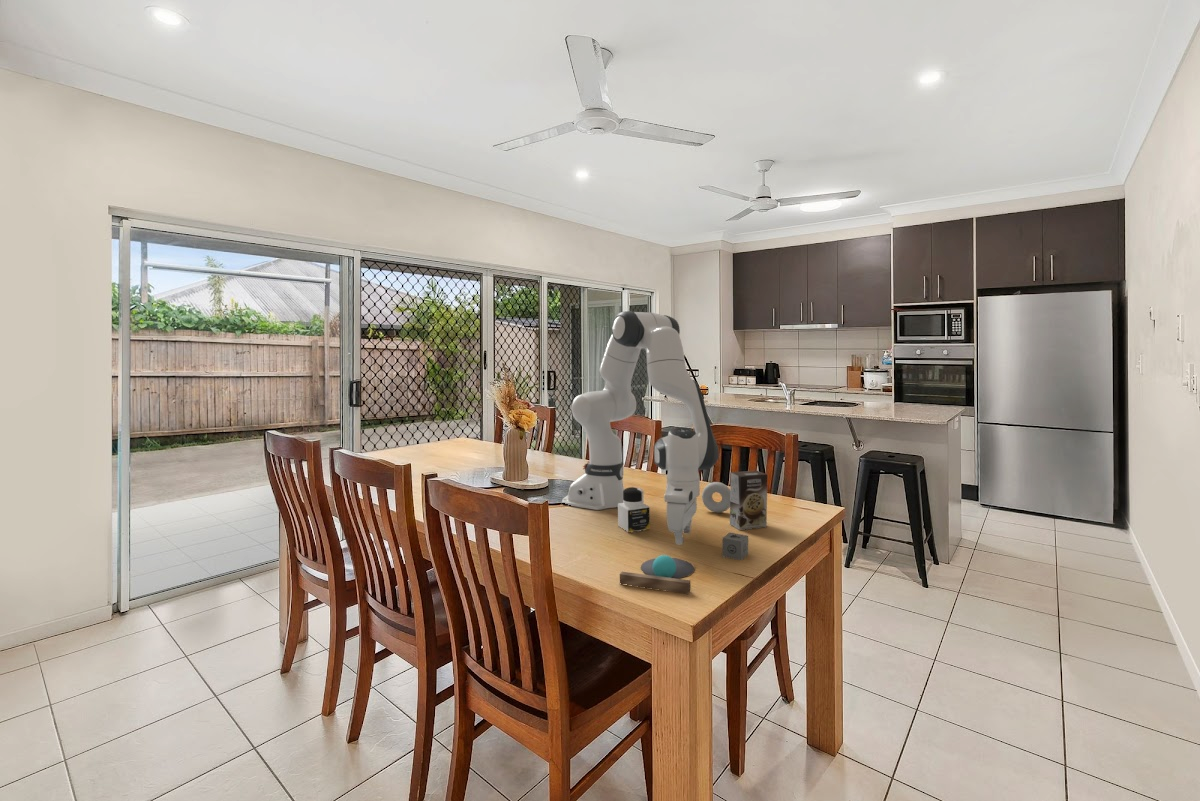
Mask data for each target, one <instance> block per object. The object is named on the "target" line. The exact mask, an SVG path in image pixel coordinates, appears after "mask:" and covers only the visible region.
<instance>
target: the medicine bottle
mask: <svg viewBox="0 0 1200 801" xmlns="http://www.w3.org/2000/svg"><path fill="white" fill-rule="evenodd" d="M623 502H624V503H619V504H618V507H617V525H618V527H619V526H620V527H621V528H620V527H619V528H620V529H622V528H623V529H624V531H625V530H626V531H625V532H626V533H628V532H631V533H634V532H633V531H637V532H641V531H640V530H643V531H647V530H646V529H649V530H650V506H649V505H647V504H646V503H644V490H643V488H640V487H636V486H634V487H633V486H632V487H626V488H624V490H623ZM623 529H622V530H623Z"/></svg>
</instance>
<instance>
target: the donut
mask: <svg viewBox="0 0 1200 801" xmlns="http://www.w3.org/2000/svg"><path fill="white" fill-rule="evenodd" d="M715 493H718V494H720V496H721V500H720V501H715V499H713V495H714V494H715ZM701 500H702V503H703V506H704V507H705V508H706V509H708V510H709V511H710V512H713V513H716V514H719V513H724V512H726V511H727V510H730V488H729V487H728V485H727V484H724V483H723V482H719V481H713V482H710V483H708V484H706V485H705V486H704V488H703V490H702V491H701Z"/></svg>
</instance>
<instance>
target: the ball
mask: <svg viewBox="0 0 1200 801" xmlns="http://www.w3.org/2000/svg"><path fill="white" fill-rule="evenodd" d="M655 558H656V559H655ZM655 558H654V559H655V560H654V562H653V572H654V574H655V575H656V576H660V577H668V578H671V577H672V576H673V575H674V574H675V572H676V563H675V561H674V560H673V559H672V558H673V557H671V556H669V555H667V554H661V555H659V556H657V557H655Z"/></svg>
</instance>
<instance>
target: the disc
mask: <svg viewBox="0 0 1200 801" xmlns="http://www.w3.org/2000/svg"><path fill="white" fill-rule="evenodd" d="M656 558H657V557H655V558H651V559H647V560H646V561H644V562H642V564H641V566H640V570H641V572H642V571H643V572H642V573H643V574H645V573H646V574H645V575H647V574H648V575H652V576H656V575H655V574H654V572H653V562H654V560H655V559H656ZM671 558H672V559H673V560H674V561H675V563H676V572H675V574H674V575H673V576H672V577H671V578H676V579H683V578H686V577H689V576H690V575H691V576H692V574H693V573H694V572H695V566H694V565H693V564H692V563H691V562H689V561H687V560H684V559H680V558H678V557H677V558H675V557H671Z"/></svg>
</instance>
